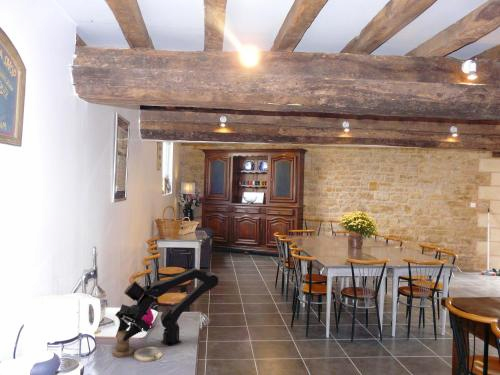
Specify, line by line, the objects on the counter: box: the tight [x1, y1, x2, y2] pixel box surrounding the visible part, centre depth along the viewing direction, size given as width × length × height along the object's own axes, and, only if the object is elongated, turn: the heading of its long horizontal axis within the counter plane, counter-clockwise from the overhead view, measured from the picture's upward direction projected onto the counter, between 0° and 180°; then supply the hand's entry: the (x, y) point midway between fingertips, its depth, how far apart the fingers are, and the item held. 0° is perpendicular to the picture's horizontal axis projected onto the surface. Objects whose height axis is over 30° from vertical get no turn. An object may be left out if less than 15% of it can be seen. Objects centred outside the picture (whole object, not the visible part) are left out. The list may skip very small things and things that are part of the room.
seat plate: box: [133, 346, 164, 362], centre depth 173 cm, size 12×12×3 cm
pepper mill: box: [142, 295, 154, 329], centre depth 205 cm, size 7×7×20 cm
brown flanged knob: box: [112, 329, 134, 358], centre depth 174 cm, size 8×8×9 cm
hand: (120, 338), depth 173 cm, fingers closed on brown flanged knob, 5 cm apart
